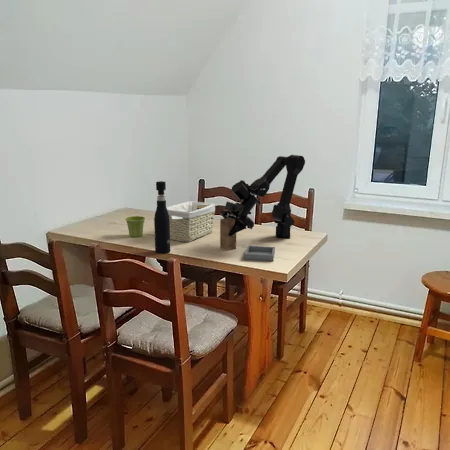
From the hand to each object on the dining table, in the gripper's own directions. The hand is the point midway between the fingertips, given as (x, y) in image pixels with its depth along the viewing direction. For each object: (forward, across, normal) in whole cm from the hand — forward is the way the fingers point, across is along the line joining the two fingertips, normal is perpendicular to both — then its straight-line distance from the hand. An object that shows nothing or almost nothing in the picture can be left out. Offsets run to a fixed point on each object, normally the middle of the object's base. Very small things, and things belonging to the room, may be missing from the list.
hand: (225, 234), depth 196 cm
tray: (+1, +17, +9) cm, 19 cm away
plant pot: (+21, -42, -11) cm, 48 cm away
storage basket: (+6, -27, +4) cm, 28 cm away
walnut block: (+4, 0, +6) cm, 7 cm away
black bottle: (+22, -12, -12) cm, 28 cm away
